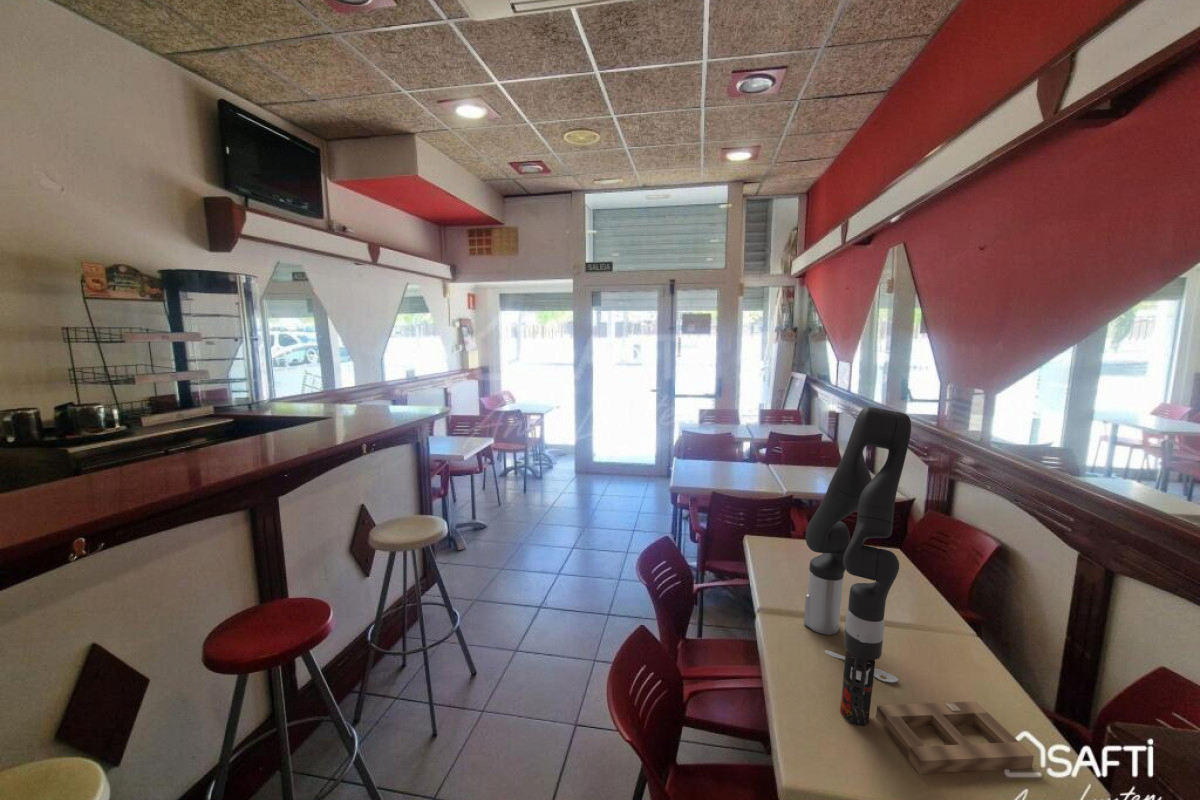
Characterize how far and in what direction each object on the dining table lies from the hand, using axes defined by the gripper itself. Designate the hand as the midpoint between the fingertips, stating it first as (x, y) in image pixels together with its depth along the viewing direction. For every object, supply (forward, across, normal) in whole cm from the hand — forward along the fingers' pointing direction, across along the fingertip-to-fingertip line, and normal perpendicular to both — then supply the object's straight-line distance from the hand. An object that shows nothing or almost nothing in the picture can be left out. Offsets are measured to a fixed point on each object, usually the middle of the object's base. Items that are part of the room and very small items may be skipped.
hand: (857, 694), depth 108 cm
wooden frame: (+6, -4, +18) cm, 19 cm away
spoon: (+6, -19, -2) cm, 20 cm away
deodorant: (+6, 0, 0) cm, 6 cm away
